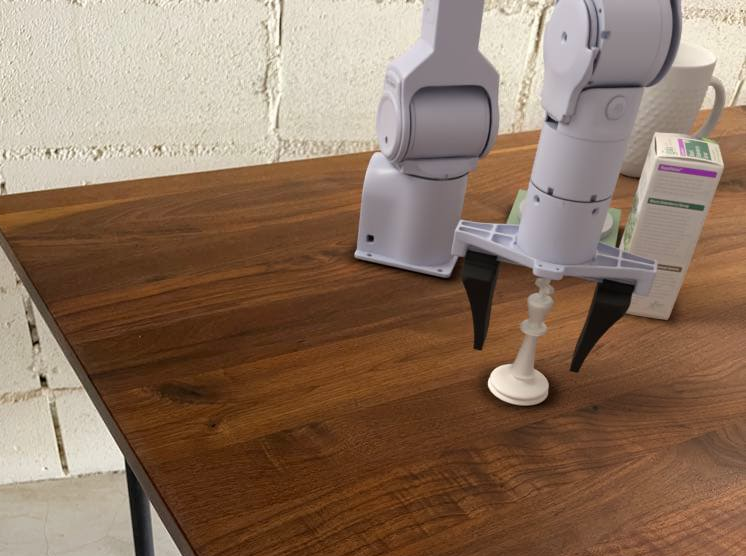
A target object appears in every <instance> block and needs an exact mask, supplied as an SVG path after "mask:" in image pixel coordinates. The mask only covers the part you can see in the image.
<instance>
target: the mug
mask: <svg viewBox="0 0 746 556" xmlns="http://www.w3.org/2000/svg"><path fill="white" fill-rule="evenodd" d="M717 62H718V58H717V55H716V54H715V53H714V52H713V51H711V50H709V49H708V48H706V47H703V45H702V46H701V45H699V44H697V43H693V42H690V41H686V40H682V39H681V40H680V45H679V48H678V52H677V55H676V58H675V60H674V62H673V64H672V66H671V68H670V70H669V71H668V73H667V74H666V76H665V77H664V78H663V79H662V80H661V81H660V82H659V83H657V84H656V85H654V86H652V87H643V88H644V93H643V97H642V100H641V103H640V107H639V110H638V113H637V117H636V120H635V123H634V127H633V130H632V133H631V136H630V140H629V143H628V146H627V150H626V153H625V156H624V160H623V163H622V166H621V170H620V173H619V175H623V176H626V177H630V178H639V179H640V178H641V174H642V171H643V168H644V165H645V162H646V158H647V155H648V152H649V149H650V146H651V143H652V139H653V136H654V134H655V132H658V133H674V134H685V135H690V133H691V131H692V129H693V127H694V124H695V122H696V121H697V118H698V115H699V114H700V110H701V109H702V105H703V104H704V101H705V98H706V96H707V93H708V90H709V87H712V89H714V94H715V95H714V102H713V105H712V108H711V111H710V114H709V115H708V117H707V119H706V121H705V122H704V124H702V126H701V127H700V128H699V129H698V130H697V131H696V132H694V133H693V134H692V136H698V137H702V138H707V137H709V136H710V135H711V133H712V132H713V131H714V129H715V128H716V126H717V125H718V123H719V121H720V120H721V117H722V115H723V112H724V110H725V107H726V88H725V86H724V84H723V82H722V81H721V80H720V79H719V78H718V77H716V75H715V76H714V75H713V74H714V71H715V67H716V65H717Z"/></svg>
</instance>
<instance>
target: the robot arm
mask: <svg viewBox="0 0 746 556" xmlns="http://www.w3.org/2000/svg"><path fill="white" fill-rule="evenodd" d="M485 2H486V1H485V0H423V5H422V7H423V8H422V16H421V25H420V36H419V39H418V40H417V41H416V42H415V43H414V44H413V45H411V46H410V47H409V48H408V49H406V50H405V51H403V52H402V53H401V54H400V55H399V56H397V57H395V58H394V59H393V60H392V61H391V62H389V64H387V66H386V68H385V73H384V78H383V85H382V91H381V95H380V98H379V100H378V104H377V109H376V118H375V119H376V120H375V130H376V140H377V143H378V147H379V150H380V151H376V152H374V153H373V155H372V156H371V157H370V159H369V163H368V165H367V168H366V172H365V176H364V182H363V186H362V193H361V202H360V210H359V211H360V213H359V223H358V234H357V243H356V250H355V252H354V258H356V259H357V260H362V261H367V262H371V263H374V264H375V263H376V264H379V265H384V266H389V267H392V268H393V267H394V268H398V269H403V270H407V271H412V272H416V273H421V274H425V275H430V276H434V277H439V278H443V279H448V278H451V275H452V273H453V270H454V268H455V266H456V263H457V262H458V259H459V258H464V261H463V266H462V267H461V272H460V274H461V282H462V286H463V287H464V289H465V292H466V296H467V299H468V302H469V307H470V312H471V317H472V318H471V319H472V326H473V347H472V349H473V350H475V351H479V352H482V351H483V349H484V345H485V343H486V339H487V336H488V331H489V327H490V321H491V315H492V306H493V299H494V295H495V291H496V287H497V282H498V279H499V278H498V277H499V273H500V270H501V265H502V262H504V263H507V264H512V265H517V266H521V267H526V268H529V269H530V270H531V269H532V274H533V275H534V276H536V277H539V278H547V279H551V281H561V280H562V279H563V277H572V278H577V279H582V280H586V281H592V282H596V285H595V289H594V292H593V296H592V299H591V302H590V306H589V310H588V313H587V316H586V318H585V321H584V324H583V326H582V328H581V331H580V334H579V337H578V339H577V342H576V344H575V347H574V350H573V354H572V357H571V362H570V367H569V372H570V373H571V372H572V373H575V374H576V373H577V374H578V373H579V372H580V370H581V368H582V366H583V364H584V362H585V360H586V359H587V357H588V356H589V354H590V353H591V351H592V349H594V347H595V346H596V344H597V343H598V342H599V341H600V340H601V338H602V337H603V336H604V335H605V334H606V333H607V332H608V331H609V330H610V329H611V328H612V327H613V326H614V325H615V324H616V323H617V322H618V321H620V320H621V319H622V318H623V317H624V316H625V315H626V314H627V313H626V312H627V310H628V309H629V307H630V304H631V298H632V294H633V292H634V293H635V294H637V295H641V296H646V297H648V296H649V293H650V290H651V287H652V285H653V282H654V279H655V276H656V273H657V264H658V261H657V260H653V259H649V258H645V257H641V256H638V255H635V254H632V253H629V252H627V251H624V250H621V249H619V247H616V246H615V247H613V246H611V245H608V244H605V243H602V242H600V241H599V240H600V236H601V233H602V230H603V226H604V223H605V220H606V216H607V213H608V210H609V207H610V206H611V204H612V203H611V202H612V200H613V195H614V193H615V191H616V187H617V183H618V180H619V176H620V174H619V173H620V170H621V166H622V163H623V160H624V156H625V153H626V150H627V146H628V143H629V140H630V136H631V133H632V130H633V127H634V123H635V120H636V117H637V113H638V110H639V107H640V103H641V100H642V97H643V93H644V88H643V87H652V86H654V85H656V84H657V83H659V82H660V81H661V80H662V79H663V78H664V77H665V76H666V74H667V73H668V71H669V70H670V68H671V66H672V64H673V62H674V60H675V58H676V55H677V52H678V48H679V45H680V40H682V32H683V12H682V0H553V4H554V8H553V10H552V13H551V15H550V19H549V21H546V22H545V27H544V33H543V43H542V46H543V47H542V52H543V66H544V76H543V81H542V82H543V83H542V87H541V92H540V97H541V102H540V107H541V108H542V109H543V110H544V111H545V113H544V117H543V122H542V126H541V130H540V134H539V138H538V144H537V147H536V153H535V156H534V160H533V165H532V169H531V174H530V178H529V181H528V186H527V189H526V191H527V195H526V199H525V204H524V208H523V212H522V217H521V221H520V225H511V224H506V223H491V222H477V221H470V220H464V219H462V214H463V208H464V205H465V204H464V203H465V199H466V192H467V188H468V187H467V186H468V181H469V175H470V172H473V171H477V170H478V166H479V161H480V160H482V159H485V158H486V157H487V156H488V155H489V154H490V152H491V151H492V149H493V148H494V146H495V144H496V141H497V138H498V134H499V130H500V120H501V119H500V114H501V113H500V106H499V94H500V93H499V91H500V78H501V76H500V74H499V72H498V70H497V68H496V67H495V66H494V65H493V63H492V62H491V61H490V60H489V59H488V57H486V56H485V55H484V54H483V53H482V52H481V51H480V50H479V46H480V38H481V32H482V22H483V17H484V7H485Z"/></svg>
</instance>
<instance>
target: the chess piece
mask: <svg viewBox="0 0 746 556" xmlns="http://www.w3.org/2000/svg"><path fill="white" fill-rule="evenodd" d="M551 281H552V279H547V278H542V277H539V278H535V283H534V285H536V287H538V288H539V290H538V292H535V293H532V294H531V293H530V294H529V296H528V297H527V300H526V303H527V304H526V306H527V315H528V318H527V319H524V320H522V321H521V323H520V324H519V329H520V332H522V333H523V334H524V336H523V340H522V342H521V345H520V348H519V350H518V352H517V355H516V357H515V360H514V361H513V363H507V364H502V365H499V366H497V367H495V368H494V370H492V372H491V373H490V375H489V378H488V380H487V387H488V389H489V391H490V392H491V393H492V395H494V396H495V397H496V398H497V399H499V400H501V401H503V402H505V403H508V404H511V405H515V406H523V407H524V406H525V407H527V406H534V405H538V404H540V403H542V402H543V401H545V400H546V399H547V397H548V395H549V388H550V385H549V381H548V379H547V378H546V377H545V375H544V374H543V373H541V371H539V370H537V369H536V368H535V360H536V351H537V345H538V339H539V337H544V336H545V335H547V333H548V327H547V324H546V323H544V320H545V319H546V317H547V316H548V314H549V313H550V312H551V310H552V309H553V307H554V305H555V301H554V299H553V298H552V297H551V295H553V294H554V292H555V288H554V287H553V286H552V285H551Z"/></svg>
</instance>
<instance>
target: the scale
mask: <svg viewBox="0 0 746 556" xmlns="http://www.w3.org/2000/svg"><path fill="white" fill-rule="evenodd" d="M526 195H527V189H520V188H519V190H518V192H517V194H516V198H515V200H514V202H513V205H512V208H511V210H510V213H509V215H508V218H507V220H506V223H505V224H511V225H520V221H521V217H522V212H523V208H524V204H525V199H526ZM622 211H623V210H622V208H621V209H620V208H615V207H610V206H609V210H608V213H607V216H606V220H605V223H604V226H603V230H602V233H601V236H600V240H599V241H600V242H602V243H605V244H608V245H611V246H613V247H616V246H617V239H618V234H619V228H620V224H621V223H620V222H621V217H622Z"/></svg>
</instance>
